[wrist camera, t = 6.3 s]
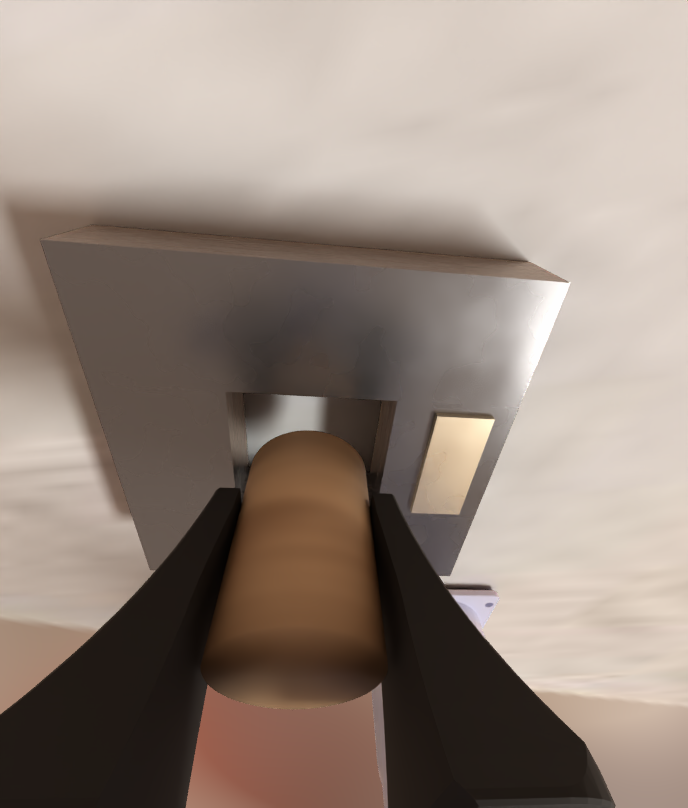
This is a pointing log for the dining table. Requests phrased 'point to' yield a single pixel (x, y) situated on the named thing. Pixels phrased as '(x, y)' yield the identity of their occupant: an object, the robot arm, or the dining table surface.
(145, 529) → the plate
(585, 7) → the dining table surface
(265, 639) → the peg
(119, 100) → the dining table surface
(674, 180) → the dining table surface
